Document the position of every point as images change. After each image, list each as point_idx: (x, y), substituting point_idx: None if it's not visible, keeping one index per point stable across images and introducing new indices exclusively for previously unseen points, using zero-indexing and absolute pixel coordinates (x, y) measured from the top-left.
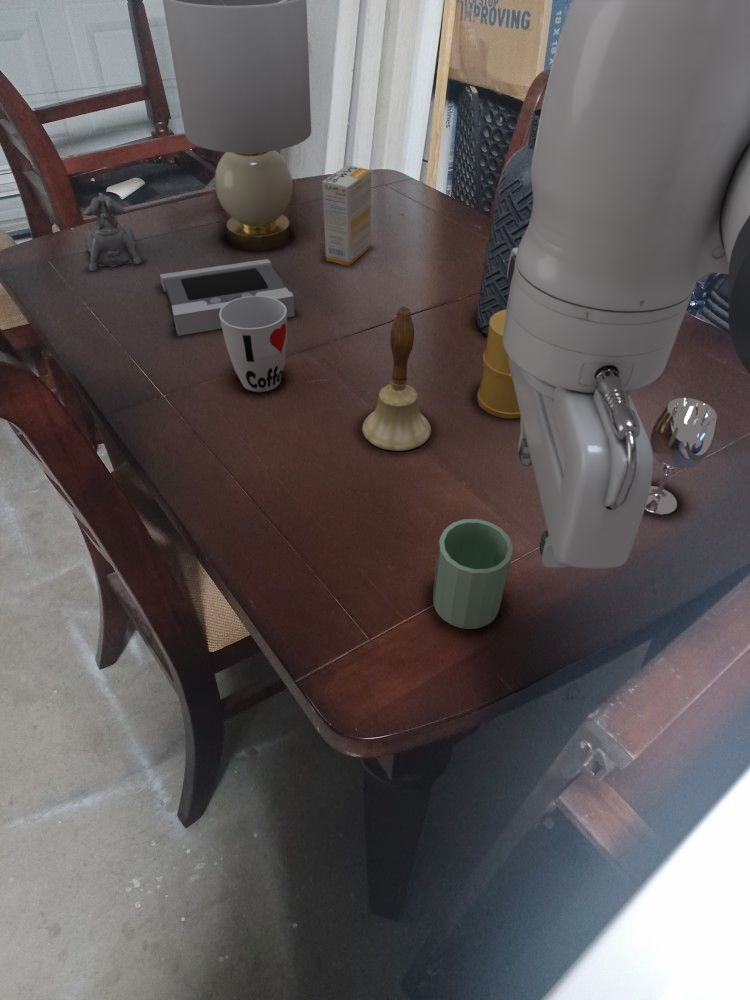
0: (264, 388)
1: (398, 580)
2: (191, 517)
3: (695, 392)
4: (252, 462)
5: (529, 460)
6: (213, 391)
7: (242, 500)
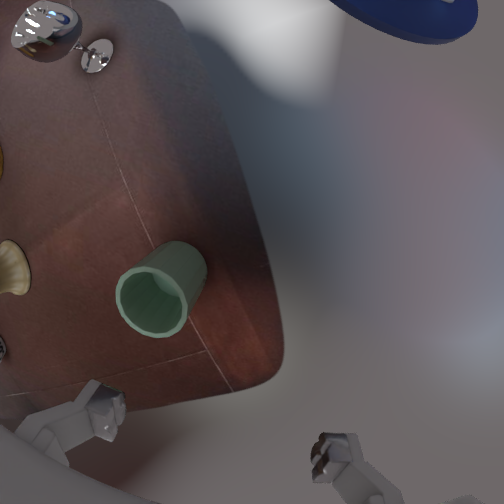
0: (2, 344)
1: None
2: None
3: (20, 11)
4: (56, 371)
5: (121, 413)
6: (12, 369)
7: None
